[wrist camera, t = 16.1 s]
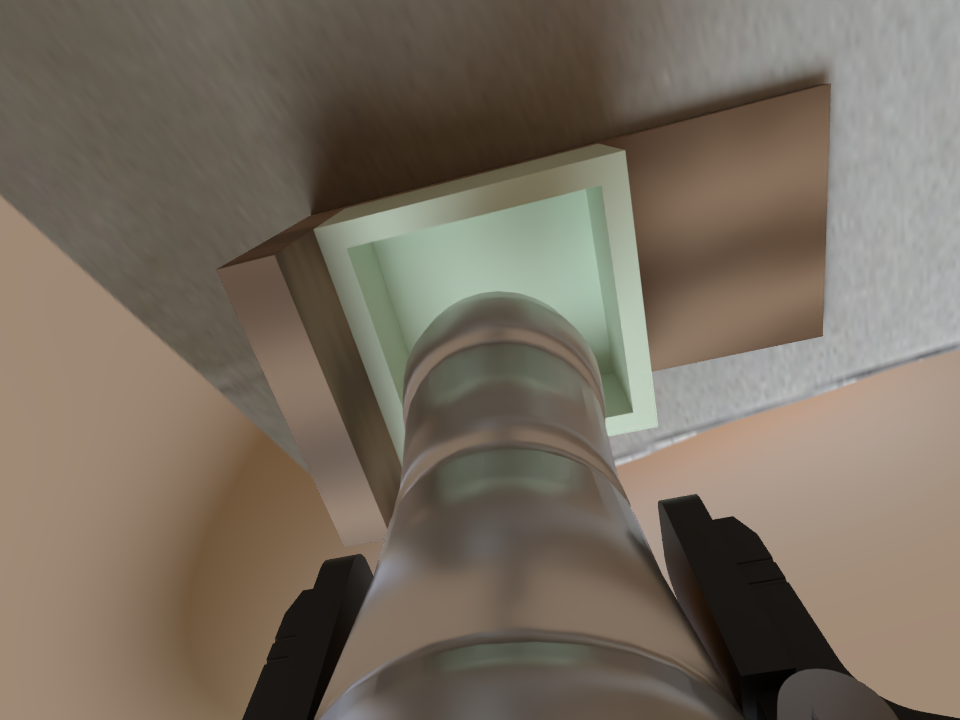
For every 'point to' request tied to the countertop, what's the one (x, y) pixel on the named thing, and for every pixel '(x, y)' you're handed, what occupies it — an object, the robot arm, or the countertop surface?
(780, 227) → the backstop
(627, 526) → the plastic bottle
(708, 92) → the countertop surface
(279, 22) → the countertop surface
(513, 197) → the socket block
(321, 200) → the countertop surface
